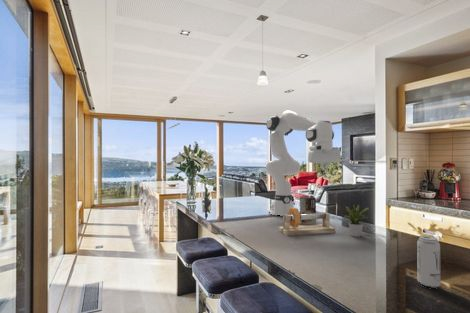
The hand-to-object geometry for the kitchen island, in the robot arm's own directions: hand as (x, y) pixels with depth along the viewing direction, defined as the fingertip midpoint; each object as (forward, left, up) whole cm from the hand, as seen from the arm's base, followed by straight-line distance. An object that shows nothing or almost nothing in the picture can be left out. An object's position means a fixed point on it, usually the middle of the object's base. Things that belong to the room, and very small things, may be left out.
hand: (324, 170), depth 169 cm
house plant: (+24, +4, -33) cm, 41 cm away
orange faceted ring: (+9, -24, -30) cm, 40 cm away
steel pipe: (+9, -17, -27) cm, 33 cm away
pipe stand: (+9, -17, -33) cm, 38 cm away
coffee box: (-8, -7, -33) cm, 35 cm away
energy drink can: (+79, -12, -33) cm, 87 cm away
